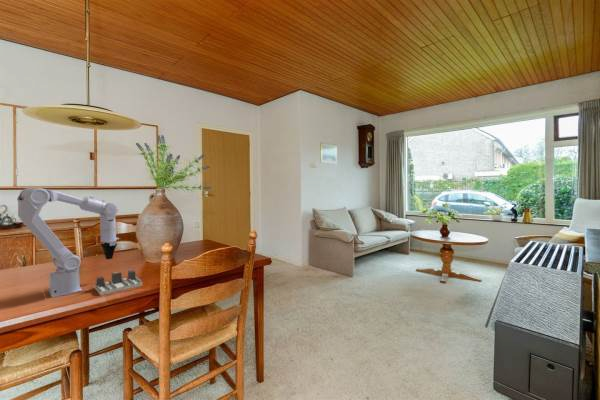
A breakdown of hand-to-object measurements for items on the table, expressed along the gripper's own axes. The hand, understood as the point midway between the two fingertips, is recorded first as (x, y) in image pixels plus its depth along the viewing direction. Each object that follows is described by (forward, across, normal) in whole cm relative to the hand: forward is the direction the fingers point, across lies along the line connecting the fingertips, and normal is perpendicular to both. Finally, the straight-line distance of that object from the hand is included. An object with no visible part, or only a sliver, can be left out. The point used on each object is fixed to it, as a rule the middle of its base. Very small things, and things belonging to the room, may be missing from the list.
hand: (109, 258), depth 126 cm
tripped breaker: (+8, -9, 0) cm, 13 cm away
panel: (+10, -12, 0) cm, 16 cm away
